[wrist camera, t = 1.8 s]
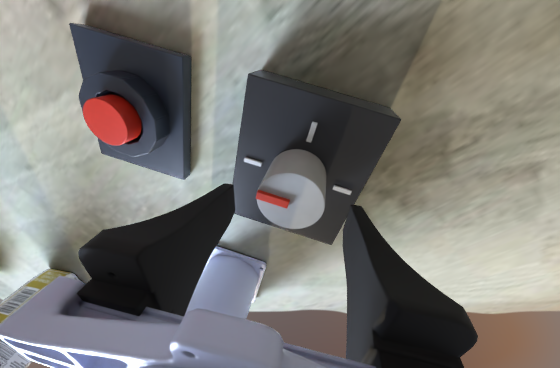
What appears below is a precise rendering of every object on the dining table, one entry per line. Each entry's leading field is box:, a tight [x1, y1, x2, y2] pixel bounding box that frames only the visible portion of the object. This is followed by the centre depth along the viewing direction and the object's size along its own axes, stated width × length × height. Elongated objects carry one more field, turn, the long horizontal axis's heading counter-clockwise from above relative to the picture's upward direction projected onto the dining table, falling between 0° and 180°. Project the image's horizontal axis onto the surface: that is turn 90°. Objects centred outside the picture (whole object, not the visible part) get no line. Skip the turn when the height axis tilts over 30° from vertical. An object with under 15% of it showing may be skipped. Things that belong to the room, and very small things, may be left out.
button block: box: [69, 23, 191, 180], centre depth 19 cm, size 11×9×3 cm
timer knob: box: [256, 149, 326, 229], centre depth 15 cm, size 4×4×4 cm
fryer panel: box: [233, 70, 401, 245], centre depth 18 cm, size 12×10×3 cm
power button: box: [83, 94, 142, 145], centre depth 17 cm, size 4×4×2 cm
